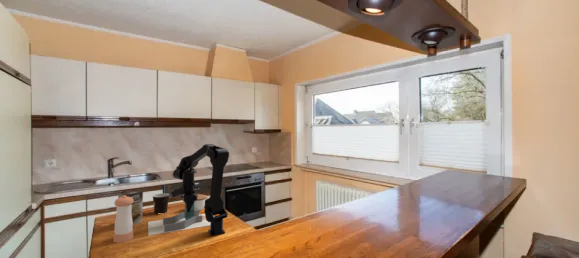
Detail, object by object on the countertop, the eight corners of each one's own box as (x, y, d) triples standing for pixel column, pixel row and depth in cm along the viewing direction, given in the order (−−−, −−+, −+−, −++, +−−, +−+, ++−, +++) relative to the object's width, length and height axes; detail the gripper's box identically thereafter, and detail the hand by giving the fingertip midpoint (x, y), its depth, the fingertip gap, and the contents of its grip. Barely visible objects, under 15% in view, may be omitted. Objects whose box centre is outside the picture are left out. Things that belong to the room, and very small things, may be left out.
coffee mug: (154, 210, 147) (154, 193, 147) (170, 209, 150) (170, 192, 150) (149, 217, 136) (149, 198, 136) (166, 215, 139) (167, 197, 139)
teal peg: (194, 218, 131) (194, 199, 130) (185, 220, 129) (186, 200, 128) (192, 216, 134) (193, 197, 134) (184, 217, 132) (185, 198, 132)
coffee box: (126, 228, 120) (127, 195, 121) (116, 226, 122) (117, 193, 123) (142, 222, 129) (143, 191, 129) (133, 220, 131) (134, 189, 131)
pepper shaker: (111, 239, 108) (112, 195, 108) (131, 234, 113) (132, 192, 113) (115, 245, 103) (116, 198, 103) (135, 239, 108) (136, 195, 108)
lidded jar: (210, 207, 155) (210, 192, 155) (199, 213, 145) (199, 196, 145) (195, 206, 158) (195, 191, 158) (184, 211, 148) (184, 195, 148)
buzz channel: (219, 225, 128) (220, 217, 128) (148, 237, 112) (148, 228, 112) (211, 214, 144) (211, 207, 144) (148, 223, 128) (148, 216, 128)
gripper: (169, 179, 135) (169, 208, 135) (173, 186, 119) (172, 218, 119) (191, 177, 141) (191, 205, 140) (197, 183, 124) (197, 215, 124)
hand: (187, 210), depth 131 cm, fingers closed on teal peg, 4 cm apart
